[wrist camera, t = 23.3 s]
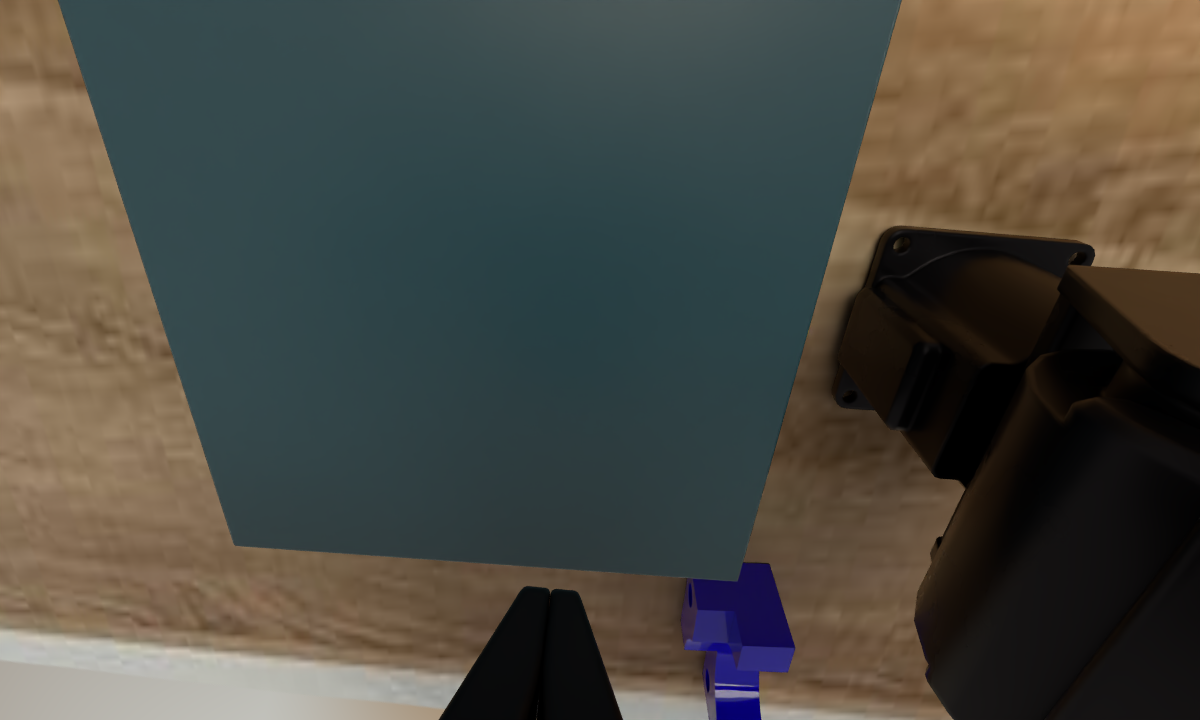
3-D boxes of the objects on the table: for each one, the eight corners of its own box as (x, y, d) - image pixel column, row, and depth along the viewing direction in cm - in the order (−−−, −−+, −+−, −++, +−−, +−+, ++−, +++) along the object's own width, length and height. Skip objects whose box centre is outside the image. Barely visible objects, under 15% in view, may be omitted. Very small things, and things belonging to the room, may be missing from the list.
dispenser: (311, -117, 14) (-48, -319, 6) (776, -73, 14) (965, -218, 7) (374, 364, 20) (233, 547, 13) (692, 389, 21) (738, 582, 13)
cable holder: (690, 560, 25) (702, 644, 21) (769, 564, 25) (795, 648, 21) (672, 672, 29) (681, 758, 25) (741, 674, 29) (759, 761, 25)
